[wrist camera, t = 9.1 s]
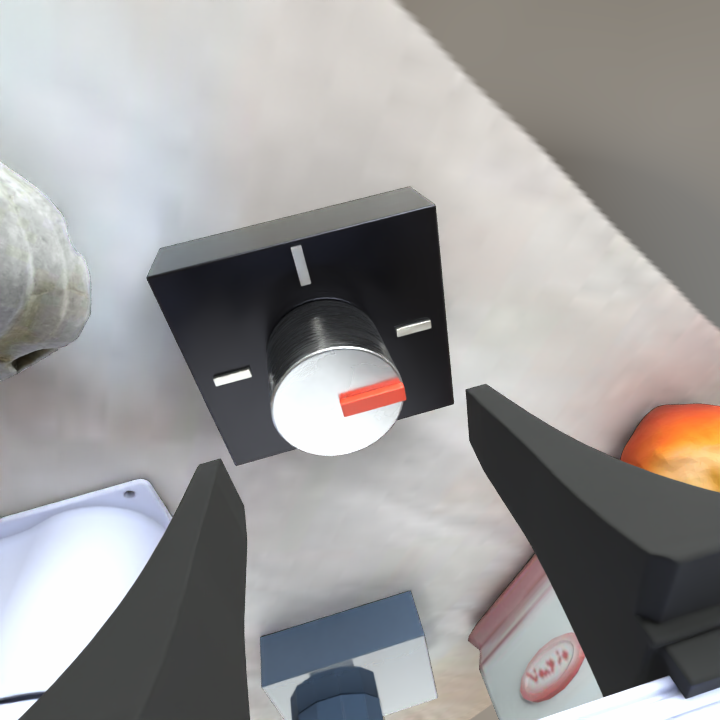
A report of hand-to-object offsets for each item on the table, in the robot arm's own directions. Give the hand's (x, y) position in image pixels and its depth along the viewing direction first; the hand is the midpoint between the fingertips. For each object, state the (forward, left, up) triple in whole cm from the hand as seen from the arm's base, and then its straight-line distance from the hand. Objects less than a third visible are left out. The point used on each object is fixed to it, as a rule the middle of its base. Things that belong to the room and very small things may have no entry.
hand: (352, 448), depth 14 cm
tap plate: (0, 0, -9) cm, 9 cm away
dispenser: (-4, -28, -9) cm, 30 cm away
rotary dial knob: (0, 0, -6) cm, 6 cm away
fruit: (+19, -14, -9) cm, 25 cm away
